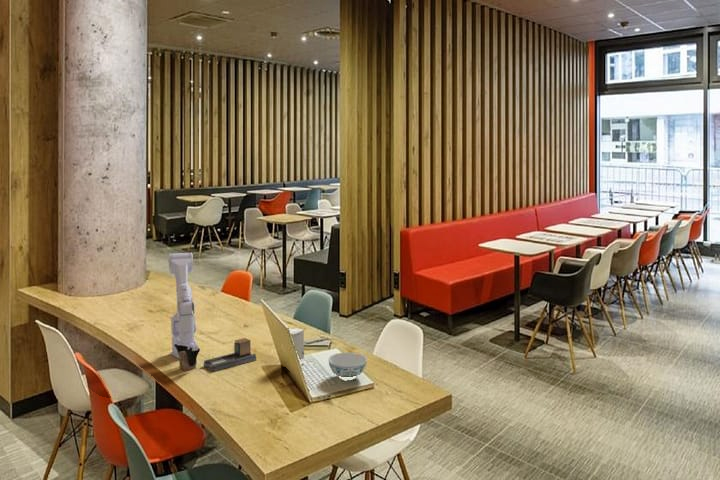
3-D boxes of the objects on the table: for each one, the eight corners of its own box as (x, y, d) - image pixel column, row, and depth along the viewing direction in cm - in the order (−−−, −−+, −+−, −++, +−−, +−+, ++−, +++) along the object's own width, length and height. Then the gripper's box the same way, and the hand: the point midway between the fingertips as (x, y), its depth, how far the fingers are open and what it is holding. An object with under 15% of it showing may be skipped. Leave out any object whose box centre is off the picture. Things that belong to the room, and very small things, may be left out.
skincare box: (293, 370, 235) (292, 334, 233) (280, 367, 238) (280, 332, 236) (304, 363, 242) (304, 329, 240) (292, 361, 245) (292, 326, 243)
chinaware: (362, 387, 219) (362, 367, 218) (324, 383, 222) (324, 364, 221) (369, 372, 234) (370, 354, 232) (333, 369, 237) (333, 351, 235)
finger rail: (203, 366, 238) (203, 346, 237) (246, 355, 252) (245, 336, 250) (213, 371, 232) (212, 351, 231) (256, 360, 246) (256, 340, 244)
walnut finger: (179, 368, 235) (179, 352, 234) (192, 365, 239) (192, 348, 238) (184, 371, 232) (183, 354, 231) (197, 368, 236) (196, 351, 235)
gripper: (168, 328, 236) (170, 360, 238) (185, 337, 225) (186, 370, 227) (185, 325, 240) (186, 356, 242) (202, 333, 230) (203, 366, 232)
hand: (187, 363), depth 235 cm, fingers open, 7 cm apart
